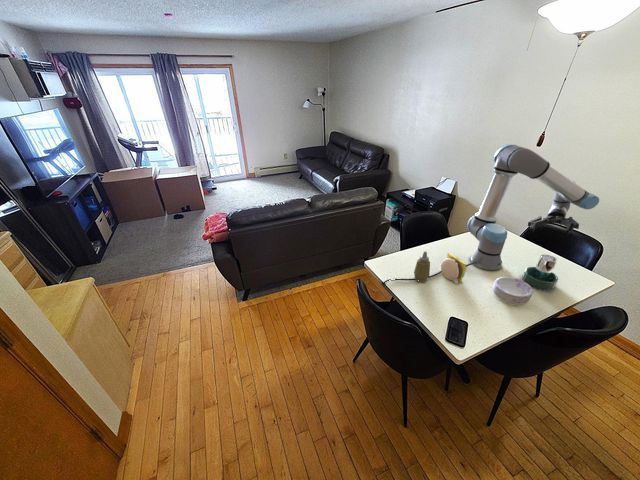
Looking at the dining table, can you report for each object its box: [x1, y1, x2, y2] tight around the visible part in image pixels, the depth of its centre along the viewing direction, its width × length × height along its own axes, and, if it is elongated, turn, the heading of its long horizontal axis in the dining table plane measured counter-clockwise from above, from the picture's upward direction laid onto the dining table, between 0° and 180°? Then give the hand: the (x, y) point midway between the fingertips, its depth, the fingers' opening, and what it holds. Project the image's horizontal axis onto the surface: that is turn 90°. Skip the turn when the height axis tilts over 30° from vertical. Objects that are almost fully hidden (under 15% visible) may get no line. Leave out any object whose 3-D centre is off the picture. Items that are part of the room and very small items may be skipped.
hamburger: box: [440, 252, 467, 284], centre depth 142 cm, size 12×8×12 cm
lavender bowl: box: [492, 276, 534, 306], centre depth 127 cm, size 15×15×8 cm
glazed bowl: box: [521, 266, 559, 292], centre depth 136 cm, size 14×14×6 cm
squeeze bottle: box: [413, 250, 431, 283], centre depth 141 cm, size 8×8×18 cm
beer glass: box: [533, 254, 558, 282], centre depth 134 cm, size 7×7×15 cm
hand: (548, 231), depth 133 cm, fingers open, 13 cm apart
